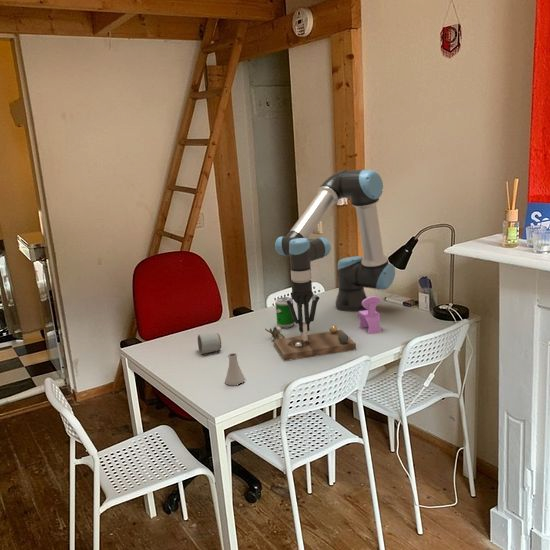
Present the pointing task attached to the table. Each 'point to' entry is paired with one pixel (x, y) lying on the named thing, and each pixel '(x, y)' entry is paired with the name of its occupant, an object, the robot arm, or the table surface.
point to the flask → (234, 371)
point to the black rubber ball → (343, 338)
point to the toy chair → (370, 315)
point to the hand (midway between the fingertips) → (304, 339)
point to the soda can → (283, 313)
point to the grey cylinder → (209, 342)
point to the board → (313, 345)
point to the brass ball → (333, 329)
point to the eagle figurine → (276, 333)
